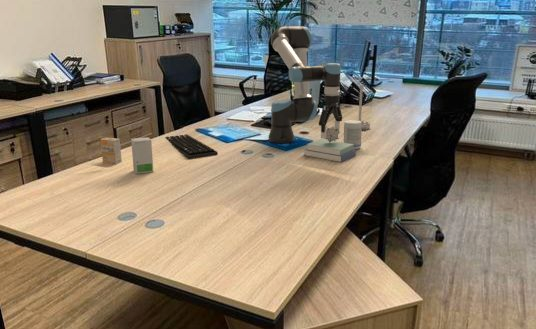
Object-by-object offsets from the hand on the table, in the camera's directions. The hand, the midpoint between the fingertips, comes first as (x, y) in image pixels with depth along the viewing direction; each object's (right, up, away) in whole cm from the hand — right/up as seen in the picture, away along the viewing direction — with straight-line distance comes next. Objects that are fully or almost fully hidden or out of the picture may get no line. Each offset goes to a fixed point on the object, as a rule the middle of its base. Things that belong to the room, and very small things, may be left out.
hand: (330, 135), depth 231 cm
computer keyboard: (-77, -7, +19) cm, 79 cm away
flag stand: (+27, +7, +59) cm, 65 cm away
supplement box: (-109, -15, -9) cm, 111 cm away
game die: (0, -4, +1) cm, 4 cm away
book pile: (0, -10, +3) cm, 10 cm away
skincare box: (-91, -18, -21) cm, 95 cm away
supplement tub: (+15, -6, +18) cm, 24 cm away
